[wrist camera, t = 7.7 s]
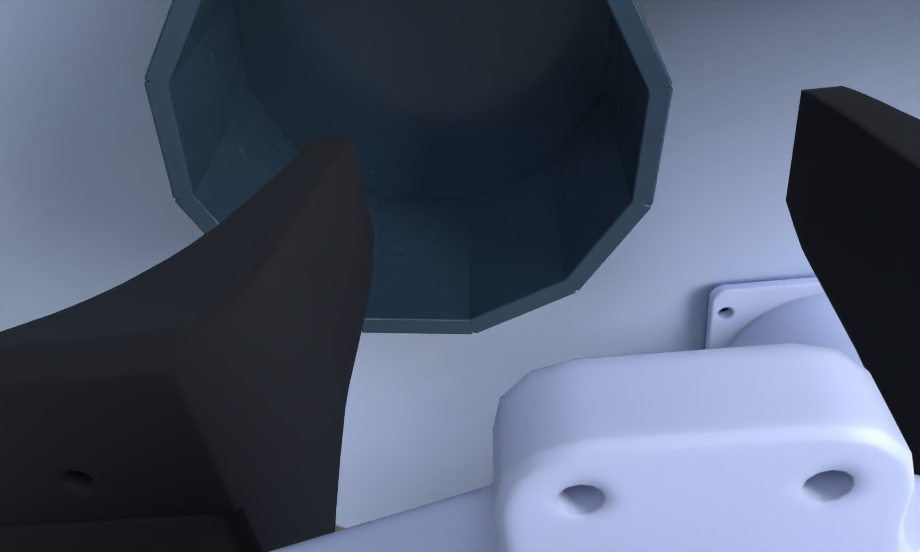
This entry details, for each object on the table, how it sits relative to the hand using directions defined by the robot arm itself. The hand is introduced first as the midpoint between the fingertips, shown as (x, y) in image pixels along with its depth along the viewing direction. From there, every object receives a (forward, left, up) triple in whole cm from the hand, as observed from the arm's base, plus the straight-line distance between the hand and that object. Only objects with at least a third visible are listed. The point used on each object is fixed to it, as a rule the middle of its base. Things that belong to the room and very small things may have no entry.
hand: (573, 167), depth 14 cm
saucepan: (+3, +3, -10) cm, 11 cm away
